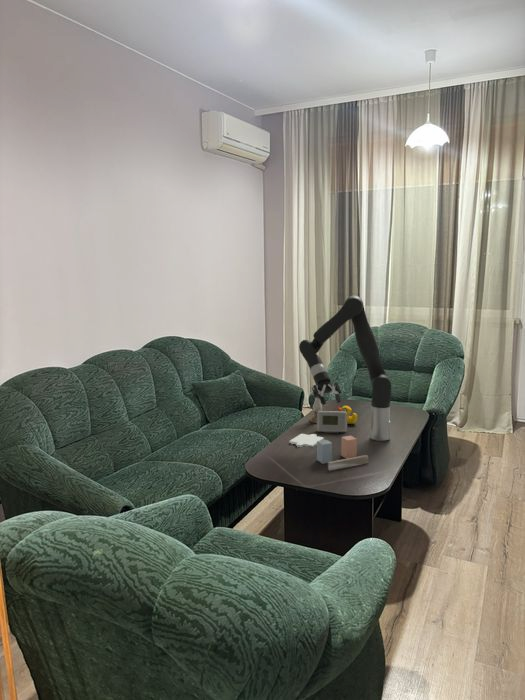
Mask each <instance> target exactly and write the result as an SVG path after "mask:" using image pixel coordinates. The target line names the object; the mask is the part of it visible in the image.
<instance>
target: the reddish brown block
mask: <svg viewBox="0 0 525 700" xmlns="http://www.w3.org/2000/svg"><path fill="white" fill-rule="evenodd" d="M357 440H358V439H357V438H356V437H354V436H352V435H345V436H342V437H341V447H340V448H341V449H340V451H341V453H340V455H341V457H343V459H348V458H353V457H357V450H358V449H357V445H358V444H357V443H358V442H357Z"/></svg>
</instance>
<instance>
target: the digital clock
mask: <svg viewBox="0 0 525 700" xmlns="http://www.w3.org/2000/svg"><path fill="white" fill-rule="evenodd" d="M316 430H317V432H323V433H339V432H340V433H346V432H348V424H347V412H343V411H338V410H321V411H318V412H317V423H316Z"/></svg>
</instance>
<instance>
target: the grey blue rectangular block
mask: <svg viewBox="0 0 525 700" xmlns="http://www.w3.org/2000/svg"><path fill="white" fill-rule="evenodd" d="M316 460H317V462H319V463H321V464H322V465H323V464H328V462H332V461H333V443H332V442H331V441H330V440H328V439H324V440H321V441H317V445H316Z"/></svg>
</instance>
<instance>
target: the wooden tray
mask: <svg viewBox="0 0 525 700" xmlns="http://www.w3.org/2000/svg"><path fill="white" fill-rule="evenodd" d="M366 464H369V455H367V454H364V455H359V456H356V457H353V458H348V459H346V458H343V459H338V460H332V462H328V463H327V471H330V472H331V471H335V470H339V469H340V470H341V469H345V468H351V467H355V466H360V465H366Z"/></svg>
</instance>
